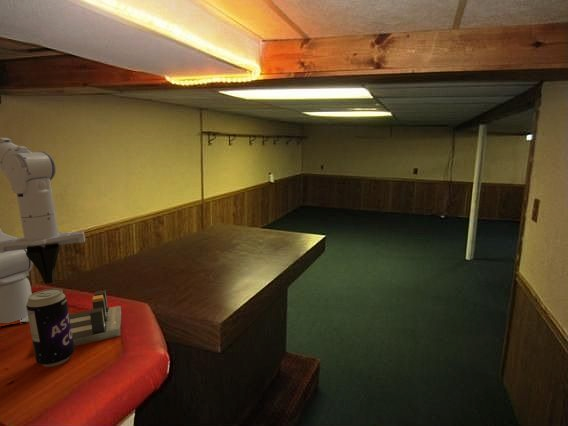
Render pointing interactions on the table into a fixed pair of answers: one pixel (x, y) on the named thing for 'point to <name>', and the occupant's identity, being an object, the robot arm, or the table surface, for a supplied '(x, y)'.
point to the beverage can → (50, 327)
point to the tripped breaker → (99, 304)
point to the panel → (98, 336)
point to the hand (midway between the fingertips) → (49, 282)
